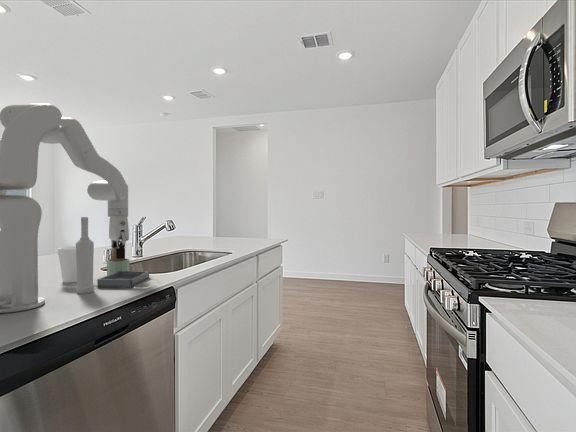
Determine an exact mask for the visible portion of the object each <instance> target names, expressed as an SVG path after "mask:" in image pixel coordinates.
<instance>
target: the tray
mask: <svg viewBox="0 0 576 432" xmlns="http://www.w3.org/2000/svg"><path fill="white" fill-rule="evenodd" d="M96 279H97V278H96ZM148 279H150V271H148V270H147V271H145V270H137V271H134V270H133V271H132V270H130V271H118V272H115V273H113V274H110V275H107V274H106V275H105V276H103V277H100V278H98V279H97V281H96V284H97V289H133V288H134V287H135V286H136V285H138V284H140V283H142V282H145V281H146V280H148Z"/></svg>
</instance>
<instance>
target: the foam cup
mask: <svg viewBox="0 0 576 432" xmlns="http://www.w3.org/2000/svg"><path fill="white" fill-rule="evenodd" d="M57 255H58V260H59V266H60V272H61V277H62V282H63V283H77V269H76V245H71V246H61V247H57Z"/></svg>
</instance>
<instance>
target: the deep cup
mask: <svg viewBox="0 0 576 432" xmlns="http://www.w3.org/2000/svg"><path fill="white" fill-rule="evenodd" d="M130 262H131V261H130V259H129V258H126V257H125V261H111V258H110V259H107V260H106V276H107V275H110V274H113V273H115V272H118V271H131V270H130V269H131V268H130V266H131V265H130Z"/></svg>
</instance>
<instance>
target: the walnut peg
mask: <svg viewBox="0 0 576 432" xmlns="http://www.w3.org/2000/svg"><path fill="white" fill-rule="evenodd" d="M116 249H117V247H114V248H111V251H110V252H111V253H110V254H111V255H110V257H111V258H110V259H111V261H125V258H126V257H125V258H119V259H117V258H116Z"/></svg>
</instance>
